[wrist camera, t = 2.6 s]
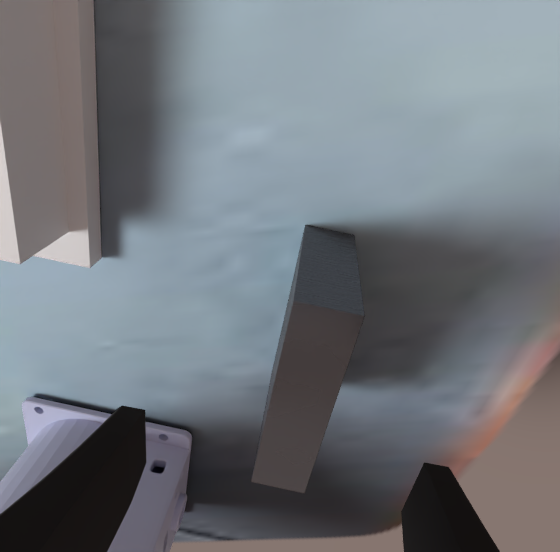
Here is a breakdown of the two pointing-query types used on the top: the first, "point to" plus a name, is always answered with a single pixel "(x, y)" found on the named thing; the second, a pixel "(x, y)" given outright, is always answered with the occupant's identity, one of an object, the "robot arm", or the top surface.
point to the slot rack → (49, 132)
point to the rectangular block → (310, 358)
